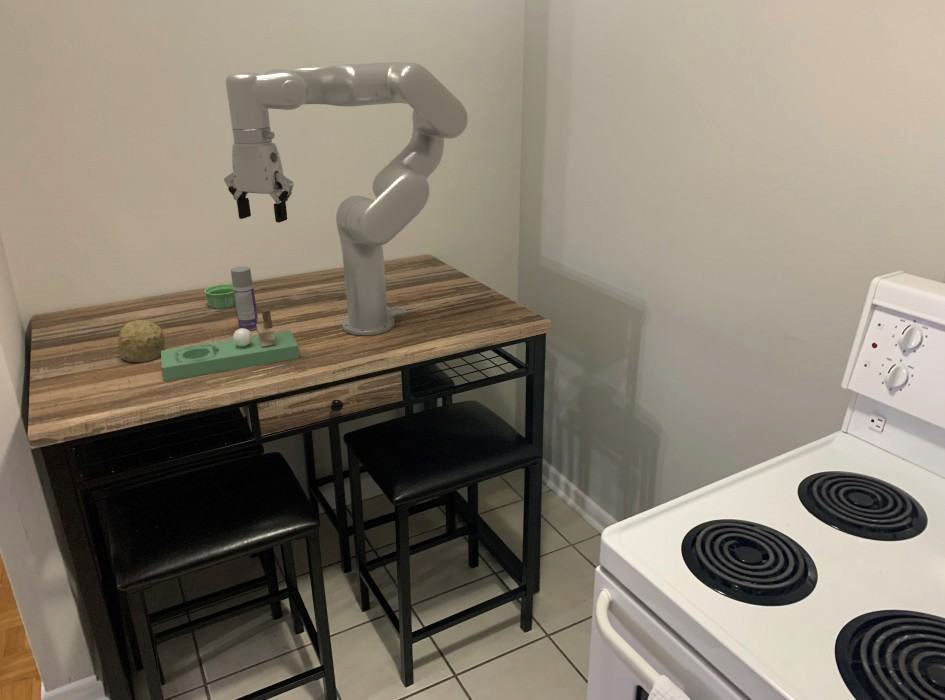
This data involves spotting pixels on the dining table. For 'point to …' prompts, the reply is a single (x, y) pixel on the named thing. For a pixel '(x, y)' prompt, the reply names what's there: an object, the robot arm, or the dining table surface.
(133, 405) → the dining table surface
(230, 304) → the ramekin
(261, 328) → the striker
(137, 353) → the rock
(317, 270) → the dining table surface
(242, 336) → the golf ball
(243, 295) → the container
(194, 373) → the putting green
